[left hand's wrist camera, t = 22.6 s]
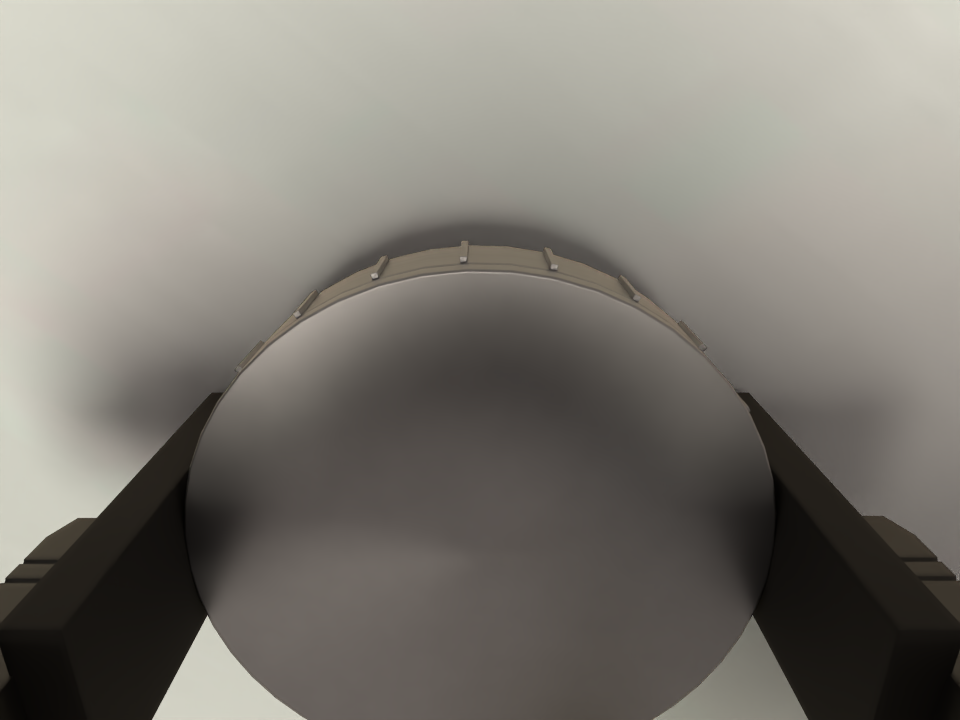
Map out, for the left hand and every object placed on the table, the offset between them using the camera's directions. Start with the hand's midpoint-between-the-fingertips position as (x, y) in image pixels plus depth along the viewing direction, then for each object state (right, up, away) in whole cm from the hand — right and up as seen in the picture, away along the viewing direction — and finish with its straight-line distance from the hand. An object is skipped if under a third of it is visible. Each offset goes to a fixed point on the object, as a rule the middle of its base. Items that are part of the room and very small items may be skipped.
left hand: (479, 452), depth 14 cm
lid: (0, -1, -3) cm, 3 cm away
